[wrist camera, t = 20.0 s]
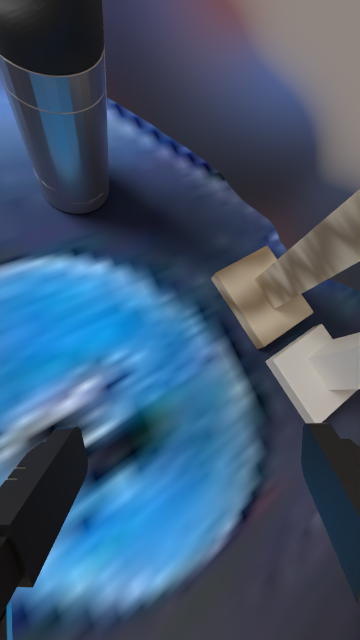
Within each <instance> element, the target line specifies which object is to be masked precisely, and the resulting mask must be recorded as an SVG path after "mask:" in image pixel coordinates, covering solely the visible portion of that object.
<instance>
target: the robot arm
mask: <svg viewBox="0 0 360 640" xmlns="http://www.w3.org/2000/svg"><path fill="white" fill-rule="evenodd" d="M0 78H1V81H2V84H3V87H4V89H5V92H6V95H7V98H8V100H9V103H10V106H11V109H12V111H13V114H14V117H15V120H16V122H17V125H18V128H19V130H20V133H21V136H22V139H23V141H24V144H25V147H26V150H27V152H28V155H29V158H30V161H31V163H32V166H33V169H34V172H35V175H36V178H37V180H38V183H39V186H40V189H41V191H42V194H43V195H44V197H45V199H46V200H47V201H48V202H49V203H50V204H51V205H53V206H54V207H55V208H57V209H59V210H61V211H64V212H68V213H73V214H83V213H88V212H92V211H94V210H96V209H98V208H99V207H100V206H102V205H103V204H104V202H105V201H106V200H107V197H108V195H109V164H108V135H107V106H106V81H105V53H104V29H103V10H102V0H0ZM301 463H302V470H303V474H304V477H305V480H306V483H307V485H308V487H309V490H310V492H311V495H312V497H313V499H314V502H315V504H316V507H317V509H318V511H319V514H320V516H321V518H322V521H323V523H324V526H325V528H326V530H327V533H328V535H329V537H330V540H331V542H332V545H333V547H334V549H335V552H336V554H337V556H338V559H339V561H340V564H341V566H342V568H343V571H344V573H345V575H346V578H347V580H348V583H349V585H350V587H351V590H352V592H353V594H354V597H355V599H356V602H357V603H360V447H359V446H358V445H357V444H355V443H354V442H353V441H351V440H350V439H340V437H339V436H338V434H337V433H336V432H335V430H334V429H333V427H332V426H331V425H330V424H329V423H305V424H304V426H303V439H302V456H301ZM87 469H88V460H87V455H86V451H85V446H84V442H83V438H82V433H81V430H80V428H79V427H58V428H56V429H55V430H54V431H53V432H52V434H51V435H50V436H49V438H48V439H47V440H46V442H41V443H40V444H39V445H37V446H36V447H35V448H33V449H32V450H31V451H30V452H28V453H27V454H26V455H25V457H24V458H23V459H22V460H21V462H20V463H19V464H18V465H17V468H16V469H14V470H13V472H12V473H11V474H10V475H9V477H8V480H5V482H4V483H3V484H2V485H1V487H0V640H12V613H11V603H10V599H11V597H12V595H13V593H14V591H15V589H16V588H17V587H33V586H34V584H35V582H36V580H37V578H38V576H39V573H40V571H41V569H42V567H43V565H44V563H45V561H46V559H47V557H48V555H49V553H50V551H51V548H52V546H53V544H54V542H55V540H56V538H57V536H58V534H59V532H60V530H61V528H62V526H63V523H64V521H65V519H66V517H67V515H68V513H69V511H70V509H71V507H72V505H73V503H74V501H75V498H76V496H77V494H78V492H79V490H80V488H81V486H82V484H83V482H84V480H85V477H86V474H87Z"/></svg>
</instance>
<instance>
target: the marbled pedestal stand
mask: <svg viewBox="0 0 360 640" xmlns="http://www.w3.org/2000/svg"><path fill="white" fill-rule="evenodd" d="M359 261H360V190H359V191H357V192H356V193H355V194H354V195H352V196H351V197H350V198H349V199H348V200H347V201H345V202H344V203H343V204H342V205H341V206H339V207H338V208H337V209H336V210H335V211H334V212H332V213H331V214H330V215H329V216H328V217H327V218H326V219H325V220H323V221H322V222H321V223H320V224H318V225H317V226H316V227H315V228H314V229H313V230H311V231H310V232H309V233H308V234H307V235H306V236H304V237H303V238H302V239H301V240H300V241H299V242H298V243H296V244H295V245H294V246H293V247H292V248H290V249H289V250H288V251H287V252H286V253H284V254H283V255H282V256H281V257H280V258H279V259H276V257H275V256H274V254H273V253H272V252H271V250H270V249H269V247H268V246H265V247H263V248H261V249H260V250H258V251H256V252H254V253H252V254H250V255H248V256H246V257H244V258H243V259H241V260H239V261H237V262H235V263H233V264H231V265H229V266H228V267H226V268H224V269H222V270H220V271H218V272H216V273H215V274H214V275H213V277H212V278H211V280H212V281H213V283H214V284H215V286H216V287H217V289H218V290H219V292H220V294H221V295H222V297H223V298H224V300H225V301H226V303H227V304H228V306H229V307H230V309H231V310H232V312H233V313H234V315H235V316H236V318H237V319H238V321H239V322H240V324H241V325H242V327H243V329H244V330H245V332H246V333H247V335H248V336H249V338H250V339H251V341H252V342H253V344H254V345H255V347H256V348H257V349H259V348H262V347H265V346H266V345H268V344H269V343H271V342H272V341H273V340H275V339H276V338H278V337H279V336H281V335H282V334H283V333H285V332H286V331H288V330H289V329H291V328H292V327H293V326H295V325H296V324H298V323H299V322H301V321H302V320H303V319H305V318H306V317H308V316H309V315H311V314H312V313H313V310H312V309H311V307H310V306H309V305H308V303H307V302H306V300H305V299H304V297H303V296H302V295H301V294H302V293H304V292H305V291H307V290H309V289H311V288H313V287H314V286H316V285H318V284H320V283H322V282H323V281H325V280H327V279H329V278H330V277H332V276H334V275H336V274H337V273H339V272H341V271H343V270H345V269H347V268H348V267H350V266H352V265H354V264H356V263H357V262H359Z"/></svg>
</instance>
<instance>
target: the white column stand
mask: <svg viewBox="0 0 360 640" xmlns="http://www.w3.org/2000/svg"><path fill="white" fill-rule="evenodd" d="M265 362H266V364H267V365H268V367H269V368H270V370H271V371H272V373H273V374H274V376H275V377H276V379H277V380H278V382H279V383H280V385H281V386H282V388H283V389H284V391H285V392H286V394H287V395H288V397H289V398H290V400H291V402H292V403H293V405H294V406H295V408H296V409H297V411H298V412H299V414H300V415H301V417H302V418H303V420H304V421H305V423H322V422H323V421H324V420H325V419H326V418H327V417H328V416H329V415H330V414H332V413H333V412H334V411H335V410H336V409H337V408H338V407H339V406H340V405H341V404H342V403H344V402H345V401H346V400H347V399H348V398H349V397H350V396H351V395H352V394H353V393H355V392H356V391H357V390H358V389H360V332H359V333H355V334H352V335H348V336H344V337H340V338H336V339H332V337H331V336H330V335H329V333H328V332H327V330H326V329H325V327H324V326H323V325H322V324H320V325H317V326H314V327H312V328H311V329H309V330H308V331H307V332H305V333H304V334H302V335H301V336H300V337H298V338H297V339H296V340H294V341H293V342H291V343H290V344H289V345H287V346H286V347H285V348H283V349H282V350H280V351H279V352H278V353H276V354H275V355H273V356H272V357H271V358H269V359H268V360H267V361H265Z"/></svg>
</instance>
